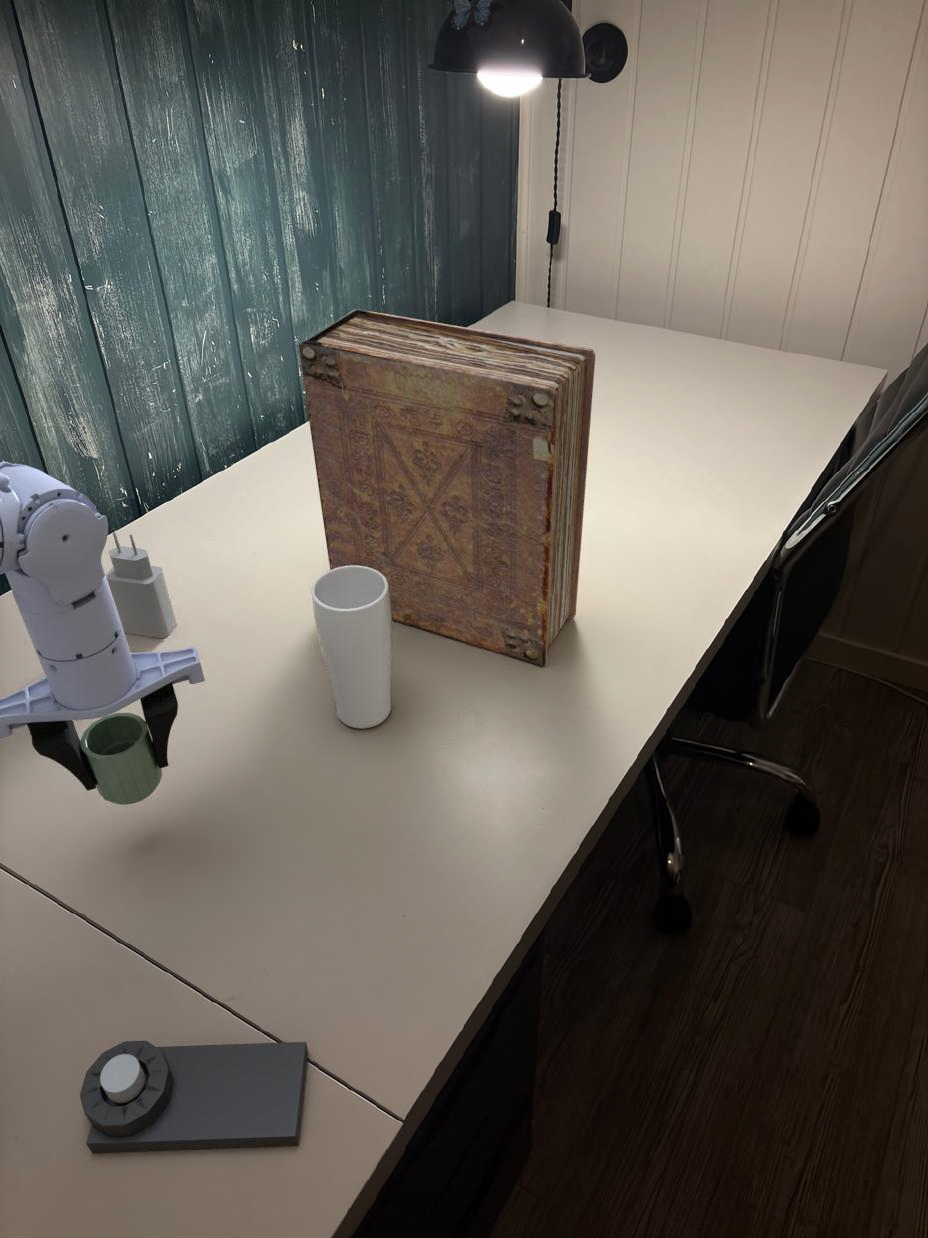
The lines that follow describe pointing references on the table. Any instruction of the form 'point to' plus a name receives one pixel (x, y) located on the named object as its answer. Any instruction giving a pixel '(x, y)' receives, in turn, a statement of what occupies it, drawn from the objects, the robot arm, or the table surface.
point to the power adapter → (140, 592)
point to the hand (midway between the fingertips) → (127, 769)
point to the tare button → (122, 1078)
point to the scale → (200, 1098)
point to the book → (454, 472)
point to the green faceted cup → (121, 758)
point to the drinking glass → (355, 641)
